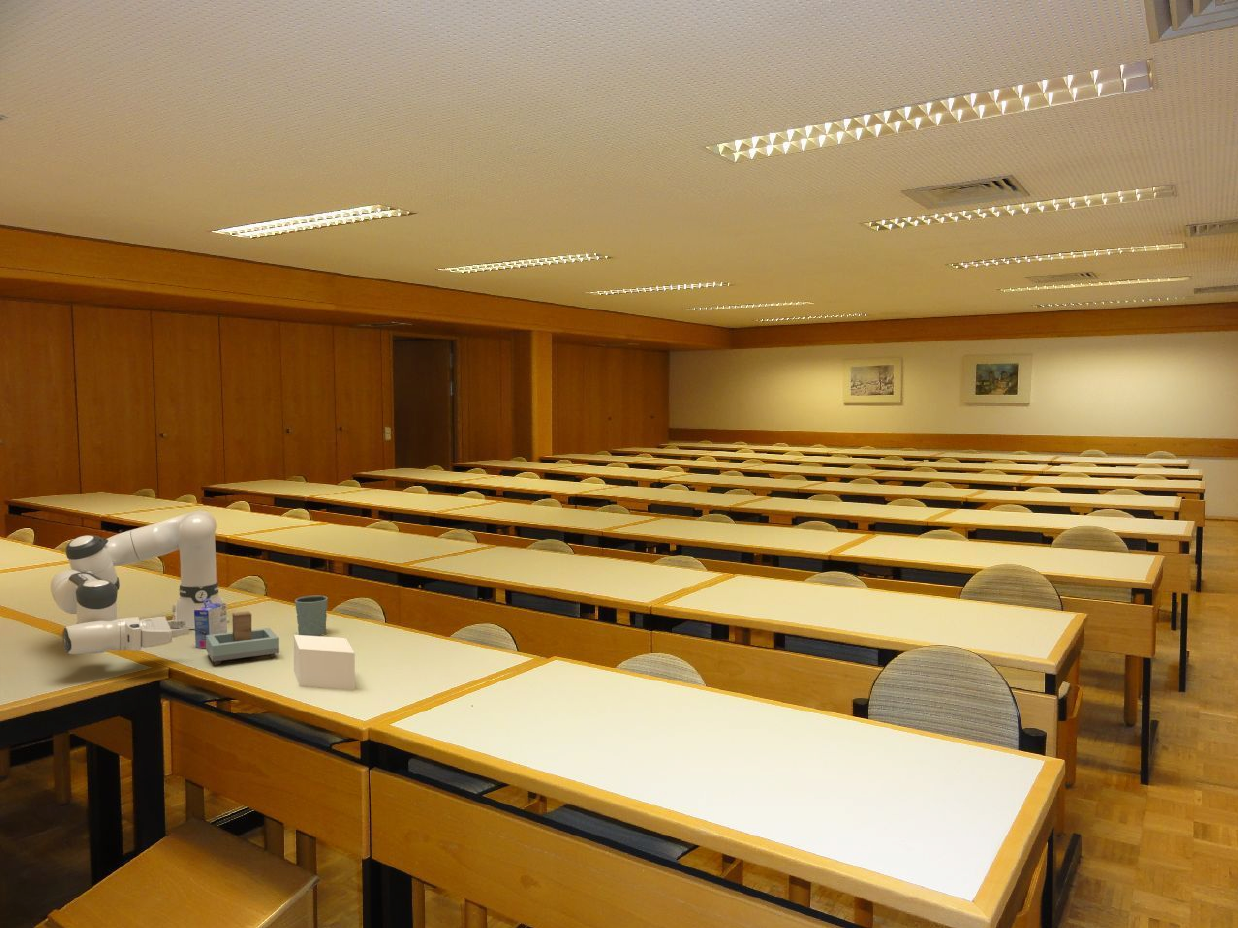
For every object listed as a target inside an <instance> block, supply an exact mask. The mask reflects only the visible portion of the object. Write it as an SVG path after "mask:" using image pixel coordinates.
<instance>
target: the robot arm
mask: <svg viewBox="0 0 1238 928" xmlns="http://www.w3.org/2000/svg"><path fill="white" fill-rule="evenodd" d="M217 526H218V525H217V521H216V518H215V517H214V516H213V515H212V513H210V512H208V511H204V510H195V511H191V512H187V513H184V514H181V515H178V516H174V517H172V518H168V519H166V520H165V519H164V520H162V521H160V522H155V523H153V524H152V523H151V524H147V525H145V526H141V527H140V526H139V527H138V528H133V529H130V530H126V531H124V532H120V533H117V534H115V535H113V536H110V537H108V538H105V537H100V536H99V535H94V534H86V535H82V536H78V537H76V538H74V539H72V540H71V541H69V542H68V543H67V545H66V546H65V555H66V556H65V557H66V559H68V562H69V567H70V568H71V569H64V570H61V571H59V572H58V573H57V574H55V575H54V577H53V578H52V579H51V583H50V592H51V597H52V599H53V601H54V602H55V604H56V606H57V607H58V608H59V609H60V610H61V611H63V612H64V613H67V614H68V615H76V623H75V624H71V625H68V626H65V627H64V628H63V630H62V644H63V648H64V651H65V652H66V653H67V654H69V655H91V654H93V655H94V654H100V653H105V652H108V651H132V652H139V651H142V648H143V649H145V648H146V649H147V648H155V647H158V646H159V647H160V646H164V645H168V644H170V643H173V638H174V639H175V638H178V637H182V636H187V635H189V634H190V630H195V622H194V610H196V609H199V608H201V607H203V606H205V605H204V603H203V601H202V600H204V599H207V598H210V600H211V601H212V603H224V598H222V597H221V596H220V594H218V593H219V582H218V580H217V579H218V578H217V576H218V575H217V550H216V549H217V548H216V547H217V545H216V531H217V528H218V527H217ZM178 550H179V555H180V556H179V557H180V585H179V598H178V600H177V601H176V602H175V604H174V605H172V613H174V614H173V616H172V619H171V620H168V619H167V617H166V616H156V617H147V618H141V619H140V618H139V616H134V617H133V616H132V617H124V618H122V617H121V618H118V612H117V611H118V607H117V606H118V603H117V602H118V601H117V600H118V593H119V592H118V591H119V590H120V588H121V586H120V585H121V584H120V579H119V576H118V575H117V570H116V568H115V567H120V566H126V565H131V564H136V563H140V562H144V561H146V560H152V559H153V558H154V559H155V558H157V557H161V556H165V555H168V554H171V553H173V552H175V551H178ZM205 603H206V604H207V603H210V601H206V602H205ZM228 622H230V617H228V616H227V623H228Z"/></svg>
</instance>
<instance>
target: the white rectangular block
mask: <svg viewBox="0 0 1238 928" xmlns="http://www.w3.org/2000/svg"><path fill="white" fill-rule="evenodd" d="M355 654H356V653H355V651H354V650H353V648H352V647H351V644H350V642H349V641H348V640H347V638H346V637H344V638H343V637H336V636H335V637H333V636H332V637H330V636H306V635H299V634H293V671H294V673H295V676H296V680H297V682H298V685H299V687H300V686H301V687H312V688H324V689H326V688H327V689H336V690H337V689H338V690H350V691H355V690H356V689H355V687H356V686H355V683H356V682H355V680H356V678H355V676H356V675H355V669H356V665H355V661H356V660H355V656H356V655H355Z"/></svg>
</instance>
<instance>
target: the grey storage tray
mask: <svg viewBox="0 0 1238 928" xmlns="http://www.w3.org/2000/svg"><path fill="white" fill-rule="evenodd" d="M251 637H252V640H244V641H236V642H233V631H232V632H231V631H230V632H227V633H221V634H213V635H206V648H205V650H206V652H207V653H208V654H207V655H208V656H209V657H210V659H211V661H212V662H214V664H215V665H216V666H219V665H221V663H222V661H227V660H228V661H229V660H236V659H242V658H250V657H258V656H264V655H269V657H270V658H274V657H275V656H276V654H279V653H280V648H279V647H280V646H279V645H280V638H279V637H278V635H277V634H276V633H275V632H274V631H273V630H272V629H271V627H266V628H257V629H256V628H255V629H251Z"/></svg>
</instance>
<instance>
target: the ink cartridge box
mask: <svg viewBox="0 0 1238 928" xmlns="http://www.w3.org/2000/svg"><path fill="white" fill-rule="evenodd" d="M202 601H203V603H204V605H205V606H203V607H201V608H199V609H196V610H194V622H195V629H194V640H195V641H194V642H195V648H196V649H206V635H213V634H221V633H228V622H227V617H228V615H227V613H228V612H227V603H224V602H223V603H212V601H211V600H210V598H207V599H204V600H202ZM206 601H210V603H207V604H206V603H205V602H206Z"/></svg>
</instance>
